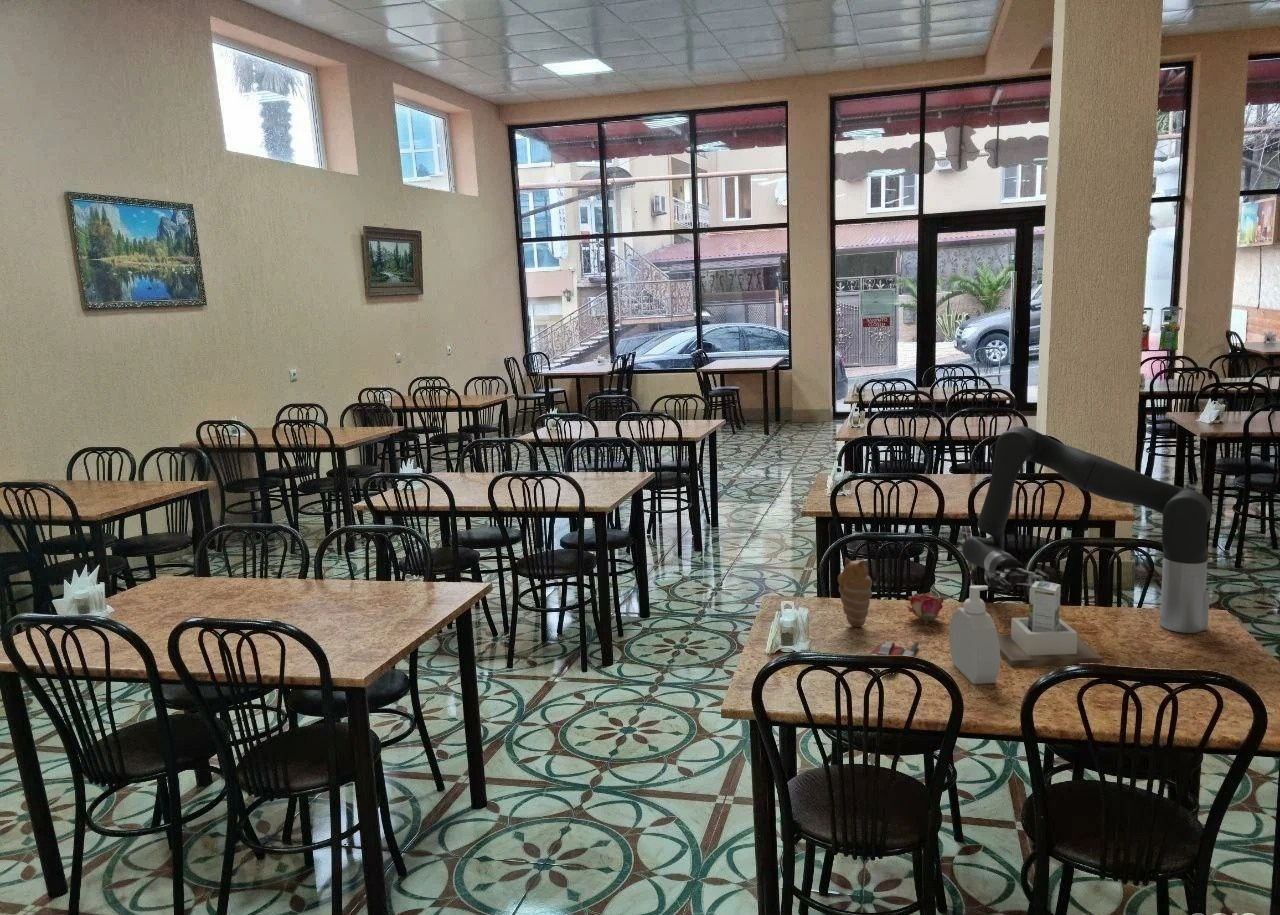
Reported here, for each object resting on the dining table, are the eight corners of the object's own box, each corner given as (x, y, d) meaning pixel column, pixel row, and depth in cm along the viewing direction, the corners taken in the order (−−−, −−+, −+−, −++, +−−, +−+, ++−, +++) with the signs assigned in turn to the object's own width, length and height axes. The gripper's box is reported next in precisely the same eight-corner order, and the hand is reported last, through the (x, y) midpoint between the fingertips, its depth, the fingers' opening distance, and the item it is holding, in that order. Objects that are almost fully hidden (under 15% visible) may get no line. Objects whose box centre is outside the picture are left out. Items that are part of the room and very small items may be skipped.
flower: (949, 622, 233) (949, 592, 236) (913, 617, 233) (913, 586, 236) (935, 632, 242) (935, 602, 245) (900, 627, 242) (901, 597, 245)
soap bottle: (1001, 687, 199) (1003, 597, 196) (977, 689, 199) (978, 599, 195) (971, 658, 215) (972, 575, 211) (948, 660, 214) (949, 576, 211)
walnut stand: (1072, 638, 224) (1072, 632, 224) (1102, 664, 208) (1102, 657, 208) (987, 640, 225) (987, 634, 225) (1010, 666, 209) (1011, 660, 209)
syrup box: (1032, 639, 221) (1033, 580, 218) (1059, 643, 217) (1061, 583, 215) (1026, 647, 216) (1028, 586, 213) (1054, 651, 213) (1056, 590, 210)
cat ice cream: (833, 628, 238) (832, 559, 235) (848, 619, 244) (847, 552, 241) (864, 635, 232) (864, 565, 229) (879, 625, 238) (879, 557, 235)
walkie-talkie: (901, 680, 206) (921, 649, 223) (901, 661, 205) (921, 631, 222) (862, 674, 210) (884, 644, 227) (862, 656, 209) (884, 626, 226)
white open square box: (1057, 636, 221) (1058, 616, 221) (1076, 653, 211) (1077, 632, 210) (1011, 638, 222) (1011, 617, 221) (1027, 655, 211) (1028, 634, 210)
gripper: (975, 554, 241) (996, 573, 225) (1031, 552, 240) (1057, 571, 224) (975, 582, 242) (996, 603, 226) (1031, 580, 242) (1056, 601, 226)
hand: (1026, 587), depth 225 cm, fingers open, 8 cm apart
